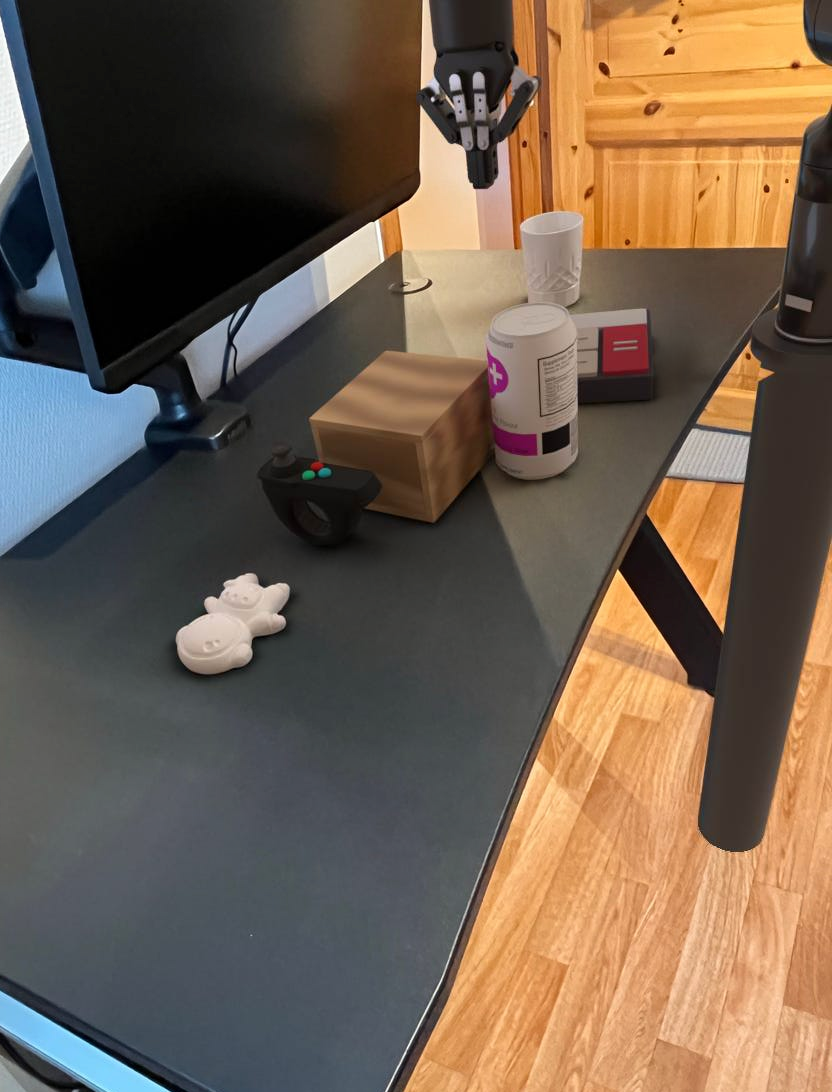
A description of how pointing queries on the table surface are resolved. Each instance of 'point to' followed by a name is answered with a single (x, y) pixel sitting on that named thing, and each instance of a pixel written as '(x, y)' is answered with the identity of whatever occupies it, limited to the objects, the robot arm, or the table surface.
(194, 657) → the white animal figurine
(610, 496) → the table surface
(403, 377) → the cabinet
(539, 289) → the white cup
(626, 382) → the calculator
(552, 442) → the supplement can
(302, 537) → the controller
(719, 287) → the table surface
